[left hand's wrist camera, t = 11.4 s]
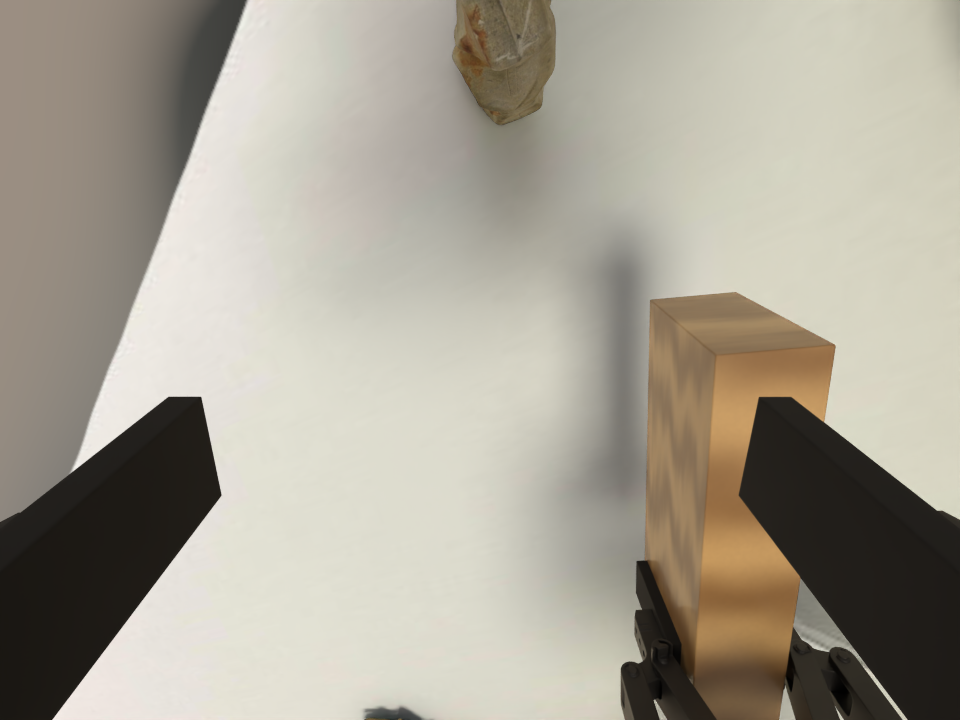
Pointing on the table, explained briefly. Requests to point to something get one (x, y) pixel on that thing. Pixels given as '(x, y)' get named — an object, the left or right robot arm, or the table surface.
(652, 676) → the right robot arm
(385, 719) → the spray gun
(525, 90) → the sculpture
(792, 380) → the bar
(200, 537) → the table surface
